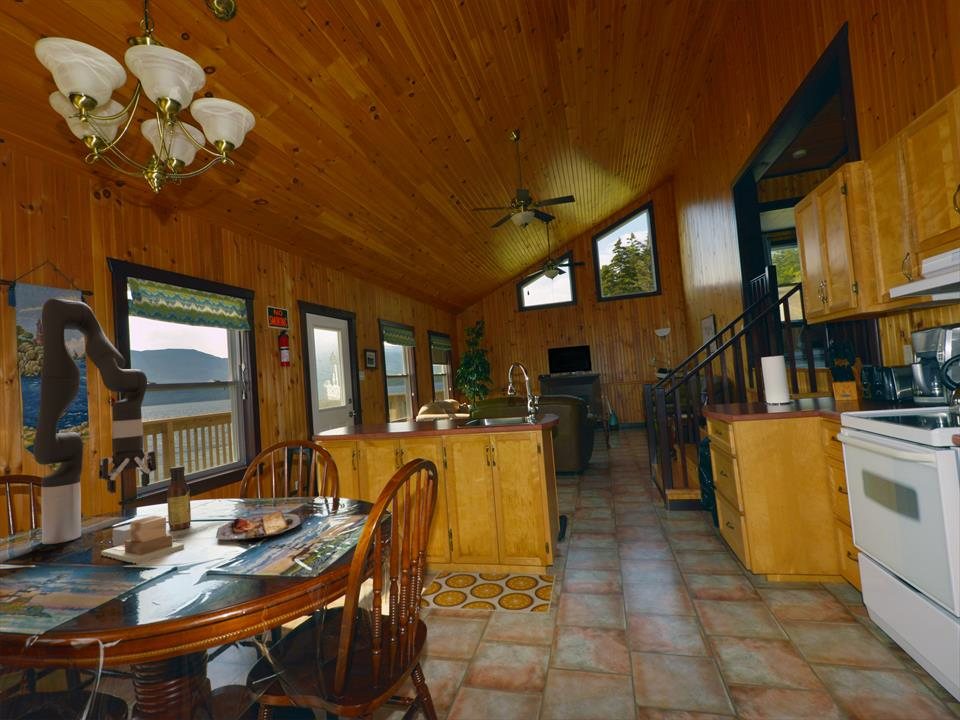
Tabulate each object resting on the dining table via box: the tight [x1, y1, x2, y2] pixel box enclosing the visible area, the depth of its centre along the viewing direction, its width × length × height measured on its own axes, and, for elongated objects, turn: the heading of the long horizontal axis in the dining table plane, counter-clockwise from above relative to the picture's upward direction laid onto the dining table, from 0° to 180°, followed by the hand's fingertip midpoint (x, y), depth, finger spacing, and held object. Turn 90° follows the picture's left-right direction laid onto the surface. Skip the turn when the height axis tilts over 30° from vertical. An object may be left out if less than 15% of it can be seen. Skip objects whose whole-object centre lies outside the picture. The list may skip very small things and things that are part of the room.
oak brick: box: [129, 515, 167, 542], centre depth 131 cm, size 6×6×5 cm
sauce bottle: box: [166, 465, 192, 531], centre depth 155 cm, size 7×6×20 cm
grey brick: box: [112, 524, 131, 547], centre depth 141 cm, size 6×6×5 cm
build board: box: [100, 541, 185, 565], centre depth 132 cm, size 18×12×1 cm, turn 62°
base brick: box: [125, 533, 173, 555], centre depth 131 cm, size 8×8×3 cm
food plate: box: [215, 509, 302, 541], centre depth 147 cm, size 25×23×4 cm
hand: (129, 489), depth 142 cm, fingers open, 8 cm apart
